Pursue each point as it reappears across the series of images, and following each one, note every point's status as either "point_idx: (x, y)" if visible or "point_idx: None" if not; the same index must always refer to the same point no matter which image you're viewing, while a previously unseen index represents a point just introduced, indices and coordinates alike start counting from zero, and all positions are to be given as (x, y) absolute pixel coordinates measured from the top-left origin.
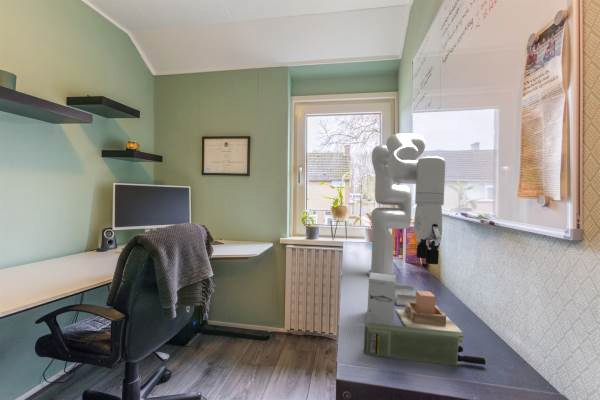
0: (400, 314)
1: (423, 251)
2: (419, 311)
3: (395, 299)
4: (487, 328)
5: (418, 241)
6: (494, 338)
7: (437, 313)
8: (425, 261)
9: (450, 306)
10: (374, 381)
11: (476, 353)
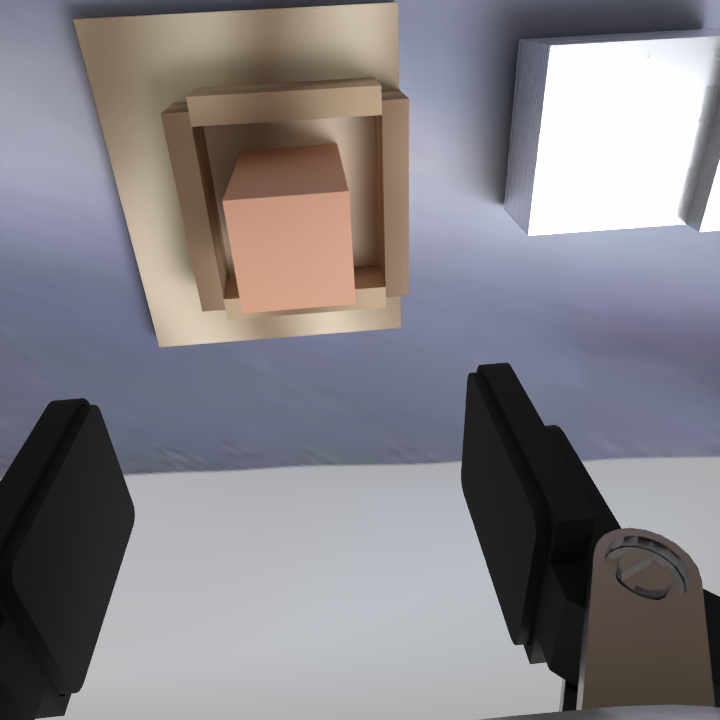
0: (291, 18)
1: (490, 506)
2: (247, 162)
3: (579, 37)
4: (302, 464)
5: (599, 601)
6: (203, 454)
7: None
8: (73, 406)
9: (545, 394)
10: None
11: (3, 338)
